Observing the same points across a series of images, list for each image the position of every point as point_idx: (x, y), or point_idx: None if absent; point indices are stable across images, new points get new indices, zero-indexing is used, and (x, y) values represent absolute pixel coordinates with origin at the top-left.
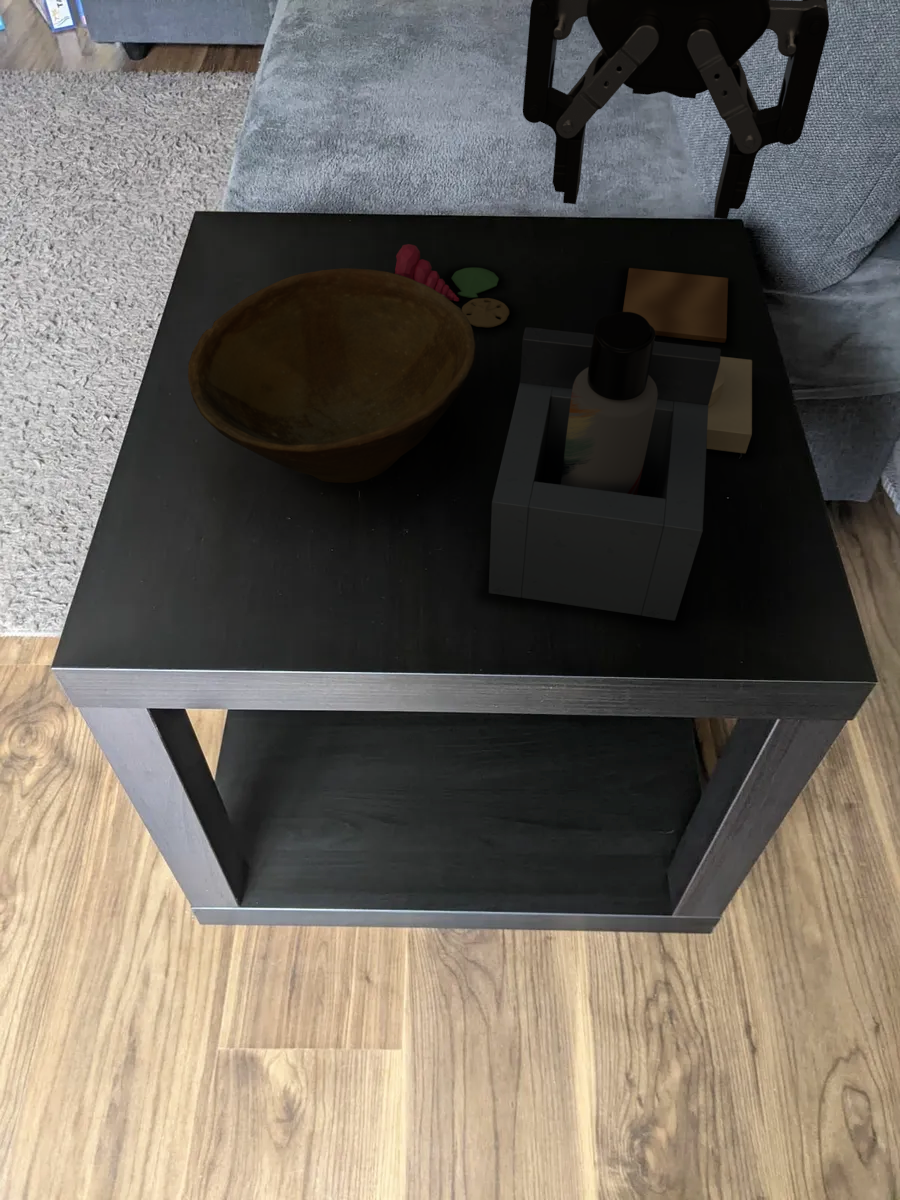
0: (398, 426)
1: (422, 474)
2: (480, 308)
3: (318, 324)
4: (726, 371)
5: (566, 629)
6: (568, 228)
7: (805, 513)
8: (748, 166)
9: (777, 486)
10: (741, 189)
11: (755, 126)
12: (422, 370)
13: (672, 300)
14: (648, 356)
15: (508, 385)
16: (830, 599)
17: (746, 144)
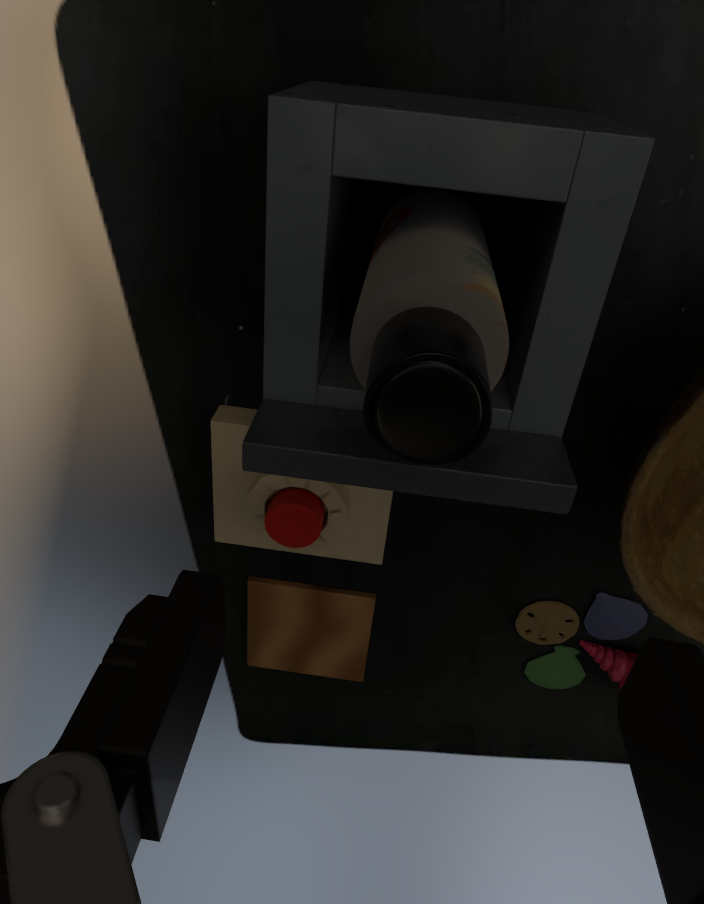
0: None
1: (670, 350)
2: (553, 628)
3: None
4: (245, 523)
5: (477, 44)
6: (431, 738)
7: (140, 306)
8: (91, 712)
9: (178, 351)
10: (130, 646)
11: (10, 866)
12: (676, 505)
13: (311, 635)
14: (376, 365)
15: (526, 510)
16: (98, 148)
17: (66, 787)
